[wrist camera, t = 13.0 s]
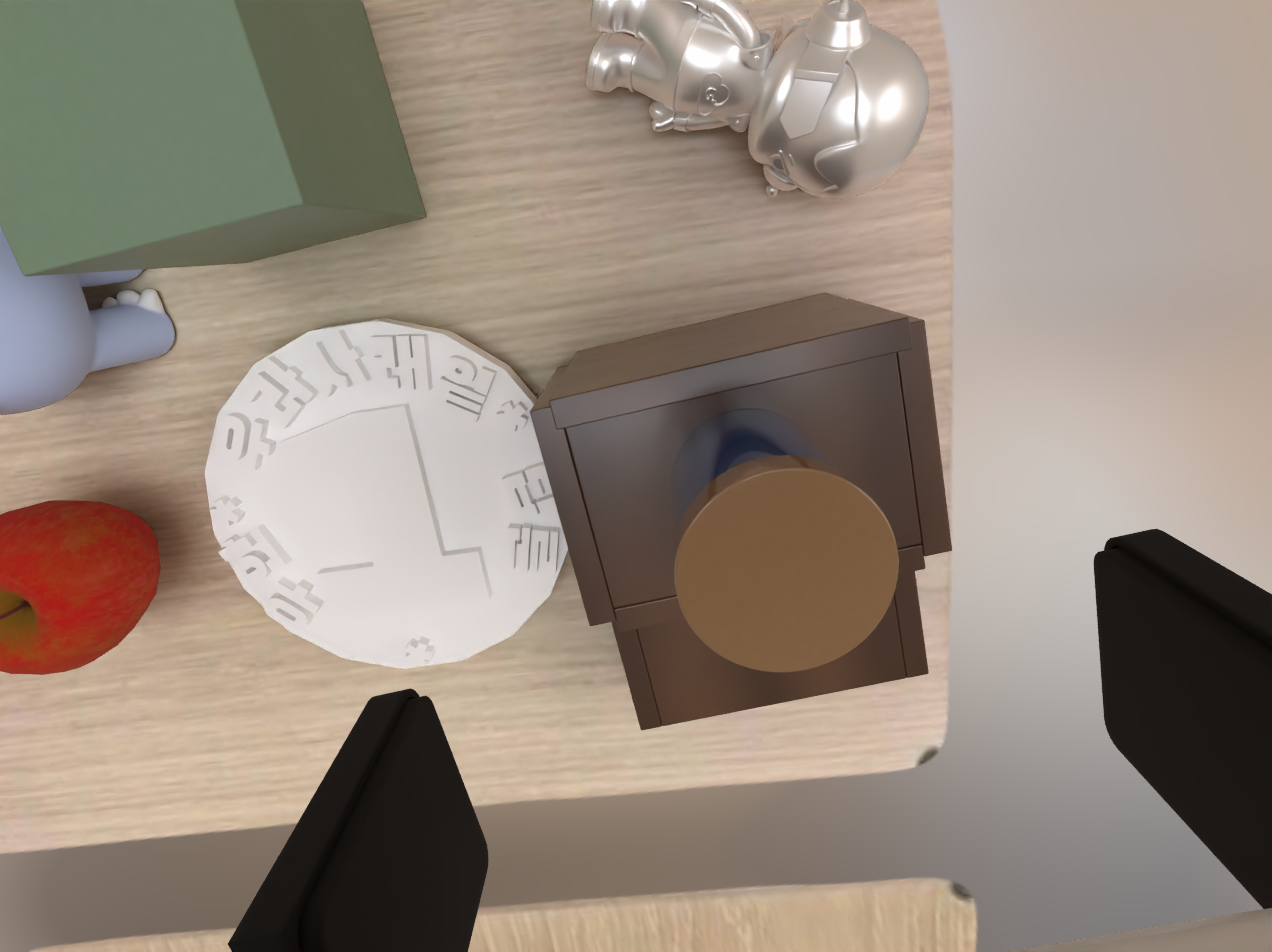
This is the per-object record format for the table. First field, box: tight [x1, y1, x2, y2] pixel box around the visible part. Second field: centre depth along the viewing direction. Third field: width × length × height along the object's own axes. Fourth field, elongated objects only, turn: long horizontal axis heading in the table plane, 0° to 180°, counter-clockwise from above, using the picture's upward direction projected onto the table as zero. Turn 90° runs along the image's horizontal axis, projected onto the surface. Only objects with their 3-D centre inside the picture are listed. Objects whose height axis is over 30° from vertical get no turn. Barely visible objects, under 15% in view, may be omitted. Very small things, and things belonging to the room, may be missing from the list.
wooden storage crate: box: [530, 293, 952, 730], centre depth 37 cm, size 16×21×13 cm
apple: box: [0, 501, 160, 675], centre depth 39 cm, size 9×8×11 cm
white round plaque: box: [204, 318, 568, 669], centre depth 42 cm, size 20×20×3 cm
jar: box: [670, 409, 899, 672], centre depth 27 cm, size 7×7×9 cm
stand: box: [0, 0, 426, 276], centre depth 31 cm, size 10×10×15 cm
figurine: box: [586, 0, 929, 199], centre depth 34 cm, size 11×7×15 cm
